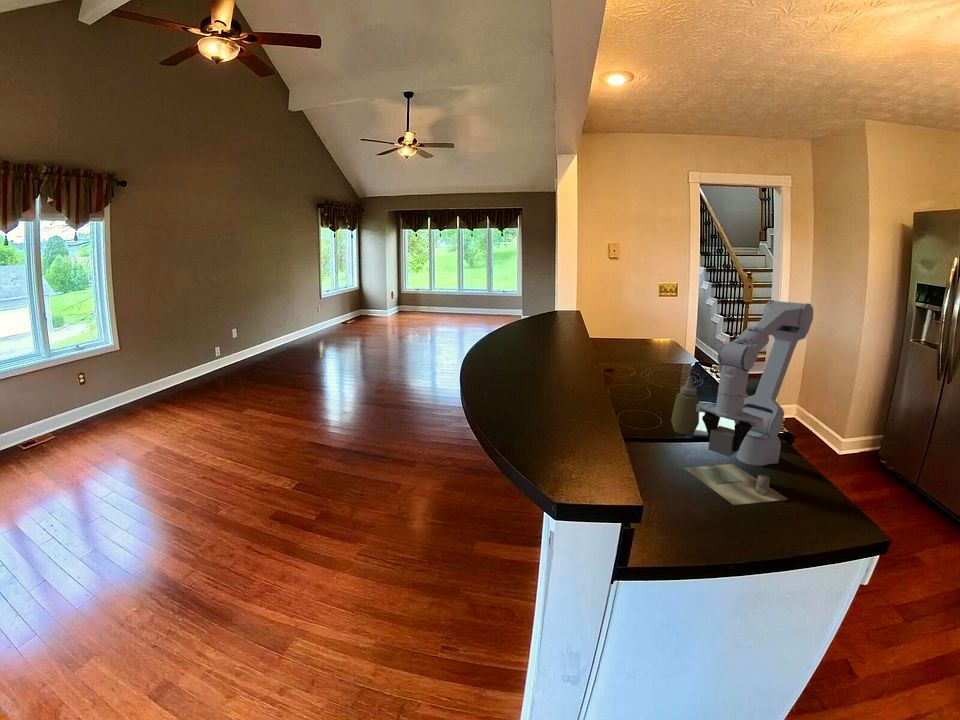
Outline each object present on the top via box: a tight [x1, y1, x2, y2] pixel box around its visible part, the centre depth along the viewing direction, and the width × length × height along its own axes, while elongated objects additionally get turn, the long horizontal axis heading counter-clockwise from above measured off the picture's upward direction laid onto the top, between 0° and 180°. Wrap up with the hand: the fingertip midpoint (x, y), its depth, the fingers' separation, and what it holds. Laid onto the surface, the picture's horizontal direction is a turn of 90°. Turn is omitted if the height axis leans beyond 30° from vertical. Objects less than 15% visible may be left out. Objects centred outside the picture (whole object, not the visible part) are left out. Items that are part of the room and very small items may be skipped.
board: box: [684, 463, 789, 506], centre depth 113 cm, size 14×18×6 cm
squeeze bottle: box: [670, 375, 700, 436], centre depth 146 cm, size 8×8×18 cm
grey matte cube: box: [707, 425, 737, 457], centre depth 114 cm, size 5×5×5 cm
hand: (723, 446), depth 114 cm, fingers closed on grey matte cube, 5 cm apart
